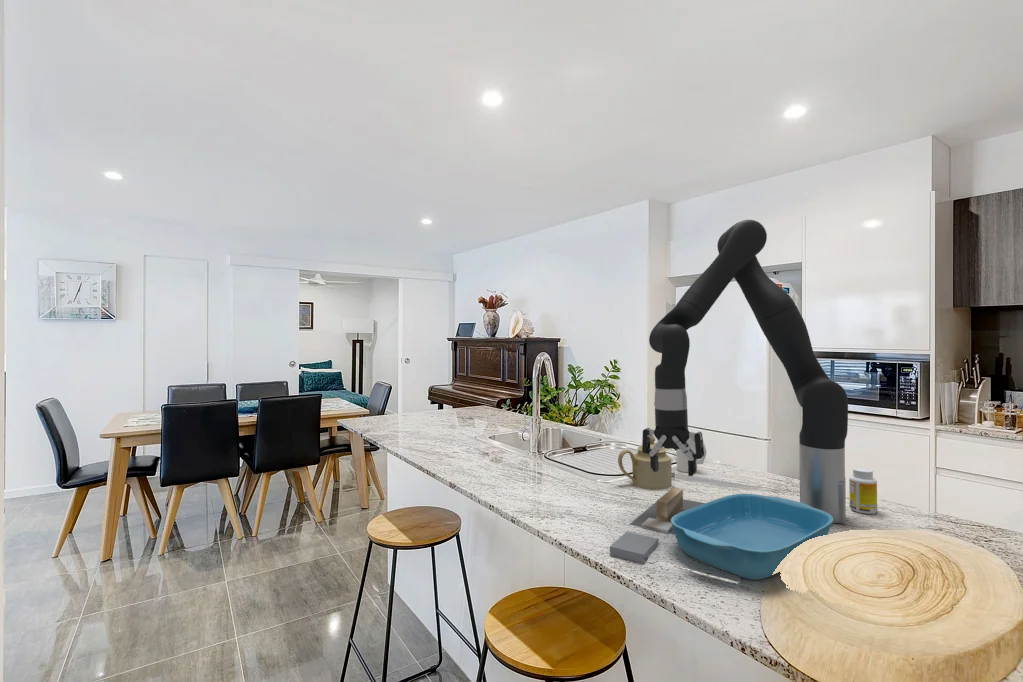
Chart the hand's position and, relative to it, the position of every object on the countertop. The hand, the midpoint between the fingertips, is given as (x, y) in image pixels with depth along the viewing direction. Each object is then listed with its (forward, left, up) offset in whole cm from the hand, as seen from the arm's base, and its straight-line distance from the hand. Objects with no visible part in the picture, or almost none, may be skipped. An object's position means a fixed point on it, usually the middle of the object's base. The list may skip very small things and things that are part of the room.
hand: (673, 473), depth 119 cm
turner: (0, +4, -10) cm, 11 cm away
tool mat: (+1, 0, -11) cm, 11 cm away
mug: (+8, -42, -11) cm, 44 cm away
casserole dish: (-19, +9, -11) cm, 24 cm away
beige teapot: (+14, -19, -11) cm, 26 cm away
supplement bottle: (-37, -29, -11) cm, 49 cm away
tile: (+1, +19, -10) cm, 21 cm away
